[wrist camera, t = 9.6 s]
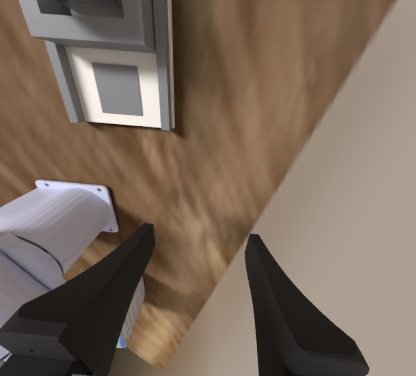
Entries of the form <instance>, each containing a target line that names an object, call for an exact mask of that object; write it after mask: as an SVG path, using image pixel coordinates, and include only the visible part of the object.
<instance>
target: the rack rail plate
mask: <svg viewBox="0 0 416 376" xmlns="http://www.w3.org/2000/svg"><path fill="white" fill-rule="evenodd" d="M19 2H20V5H21V8H22V11H23V14H24V17H25V19H26V22H27V25H28V28H29V31H30V34H31V36H33V37H36V38H39V39H43V40H44V41H45V45H46V48H47V51H48V54H49V57H50V60H51V63H52V66H53V69H54V73H55V76H56V79H57V82H58V85H59V88H60V91H61V94H62V97H63V101H64V104H65V107H66V110H67V113H68V116H69V119H70V122H76V123H80V122H84V121H89V122H100V123H112V124H123V125H135V126H146V127H158V128H161V130H167V131H170V130H171V129H173V128H175V113H174V77H173V40H172V4H171V0H122V5H123V12H124V18H119V17H102V16H86V15H81V14H79V13H77V12H75V11H73V10H72V9H70V8H68V7H66V6H64V5H63V4H61V3H59V2H57V1H55V0H19Z"/></svg>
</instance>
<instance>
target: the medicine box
mask: <svg viewBox="0 0 416 376" xmlns="http://www.w3.org/2000/svg"><path fill="white" fill-rule="evenodd" d="M144 298H145V288H144V281H143V275H142V277H141V279H140V282H139V284H138V286H137V288H136V291H135V293H134V296H133V298H132V301H131V304H130V307H129V310H128V313H127V316H126V319H125V322H124V324H123V328H122V331H121V334H120V337H119V340H118V343H117V347H116V348H126V347H127V345H128V342H129V340H130V337H131V334H132V331H133V329H134V326H135V323H136V320H137V317H138V315H139V312H140V309H141V307H142V304H143V301H144Z"/></svg>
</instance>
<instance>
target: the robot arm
mask: <svg viewBox="0 0 416 376" xmlns="http://www.w3.org/2000/svg"><path fill="white" fill-rule="evenodd" d="M35 183H36V185H37V187H38V188H37V189H35V190H33V191H31V192H29V193H27V194H25V195H23V196H21V197H19V198H17V199H15V200H14V201H12V202H10V203H8V204H6V205H4V206H2V207H0V376H106V375H107V374H108V373H109V370H110V367H111V363H112V360H113V357H114V353H115V350H116V347H117V343H118V340H119V337H120V334H121V331H122V328H123V324H124V322H125V319H126V316H127V313H128V310H129V307H130V304H131V301H132V298H133V296H134V293H135V291H136V288H137V286H138V284H139V282H140V279H141V277H142V275H143V273H144V271H145V269H146V266H147V264H148V262H149V260H150V258H151V255H152V252H153V249H154V246H155V238H154V230H153V224H147V223H144V224H143V225H142V226H141V227H140V228H139V229H138V230H137V231H136V232H134V233H133V234H132V235H131V236H130V237H129V238H128V239H127V240H126V241H124V242H123V243H122V244H121V245H120V246H119V247H117V248H116V249H115V250H114V251H112V252H111V253H110V254H109V255H107V256H106V257H105V258H103V259H102V260H101V261H99V262H98V263H96V264H95V265H93V266H92V267H90V268H89V269H87V270H86V271H84V272H82V273H81V274H79V275H78V276H76V277H74V278H73V279H71V280H69V281H67V282H66V281H65V280H64V279H63V277H62V276H63V275H64V274H65V273H66V272H67V270H68V269H69V268H70V267H71V266H72V265H73V263H74V262H75V261H76V260H77V259H78V258H79V256H80V255H81V254H82V253H83V252H84V251H85V249H86V248H87V247H88V246H89V245H90V244H91V242H92V241H93V240H94V239H95V238H96V237H97V236H98V234H99V233H100V232H101V231H106V232H118V230H119V228H118V224H117V220H116V216H115V213H114V209H113V205H112V201H111V198H110V194H109V190H108V188H107V187H106V186H101V185H90V184H80V183H69V182H59V181H48V180H37V181H36V182H35ZM100 189H101V190H100ZM245 262H246V270H247V275H248V280H249V286H250V291H251V295H252V301H253V309H254V318H255V329H256V340H257V354H258V367H259V368H258V369H259V376H365V375H367V374H368V372H369V367H368V365H367V363H366V361H365V359H364V357H363V355H362V353H361V351H360V350H359V348H358V346H357V345H356V343H355V341H354V340H353V339H351V338H350V337H349V336H348V335H347V334H346V333H344V332H343V331H342V330H341V329H340V328H338V327H337V326H336V325H335V324H334V323H333V322H331V321H330V320H329V319H328V318H327V317H326V316H325V315H323V314H322V313H321V312H320V311H319V310H318V309H317V308H316V307H315V306H314V305H313V304H312V303H311V302H310V301H309V300H308V299H307V298H306V297H305V296H304V295H303V294H302V293H301V292H300V290H299V289H298V288H297V287H296V286H295V285H294V284H293V283H292V281H291V280H290V279H289V278H288V277H287V275H286V274H285V273H284V271H283V270H282V269H281V268H280V266H279V265H278V264H277V262H276V261H275V259H274V258H273V256H272V255H271V254H270V252H269V251H268V249H267V247H266V246H265V244H264V243H263V241H262V239H261V238H260V236H259V235H258V234H250V235H249V239H248V243H247V246H246V250H245Z"/></svg>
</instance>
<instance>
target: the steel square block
mask: <svg viewBox="0 0 416 376" xmlns="http://www.w3.org/2000/svg"><path fill="white" fill-rule="evenodd" d="M55 1H57V2H59V3H61V4H63V5H64V6H66V7H68V8H70V9H72V10H73V11H75V12H77V13H79V14H81V15H86V16H102V17H119V18H124V12H123V5H122V0H55Z"/></svg>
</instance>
